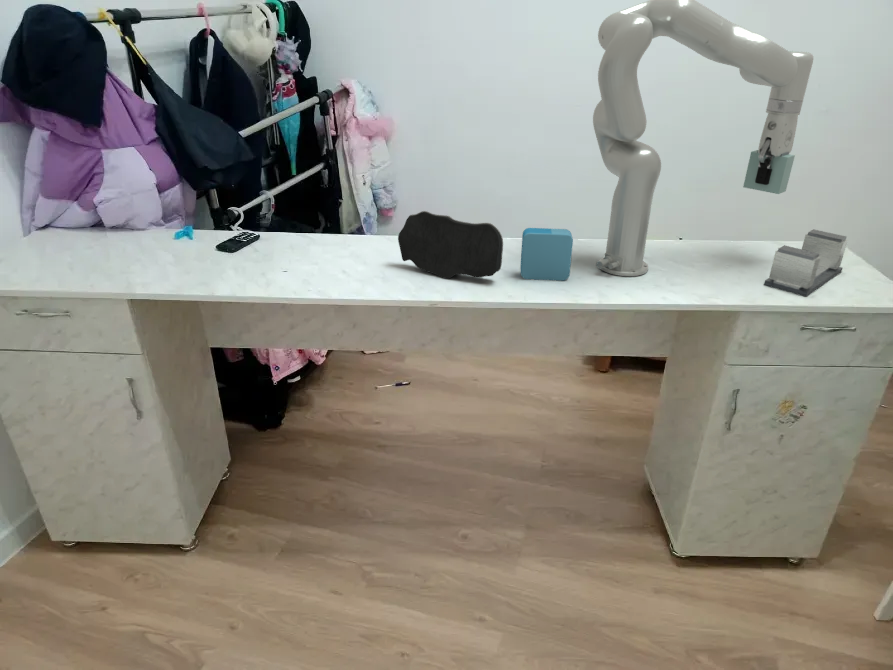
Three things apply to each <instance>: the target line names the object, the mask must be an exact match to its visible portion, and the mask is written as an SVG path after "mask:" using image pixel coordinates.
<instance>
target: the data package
mask: <svg viewBox="0 0 893 670" xmlns="http://www.w3.org/2000/svg"><path fill="white" fill-rule="evenodd" d="M573 246H574V239H573V236H572V232H571V231H570V230H569V229H566V228H549V227H548V228H545V227H544V228H542V227H527V228H525V229H524V230H523V232H522V237H521V255H520V267H519V269H520V276H521V278H523V279H525V280H531V279H534V281H537V280H538V281H539V280H540V281H555V280H556V281H558V282H560V281H561V282H563V281H567V280H568V279H569V277H570V273H571V265H572V264H571V263H572V262H571V261H572V256H573V255H572V253H573Z"/></svg>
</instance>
